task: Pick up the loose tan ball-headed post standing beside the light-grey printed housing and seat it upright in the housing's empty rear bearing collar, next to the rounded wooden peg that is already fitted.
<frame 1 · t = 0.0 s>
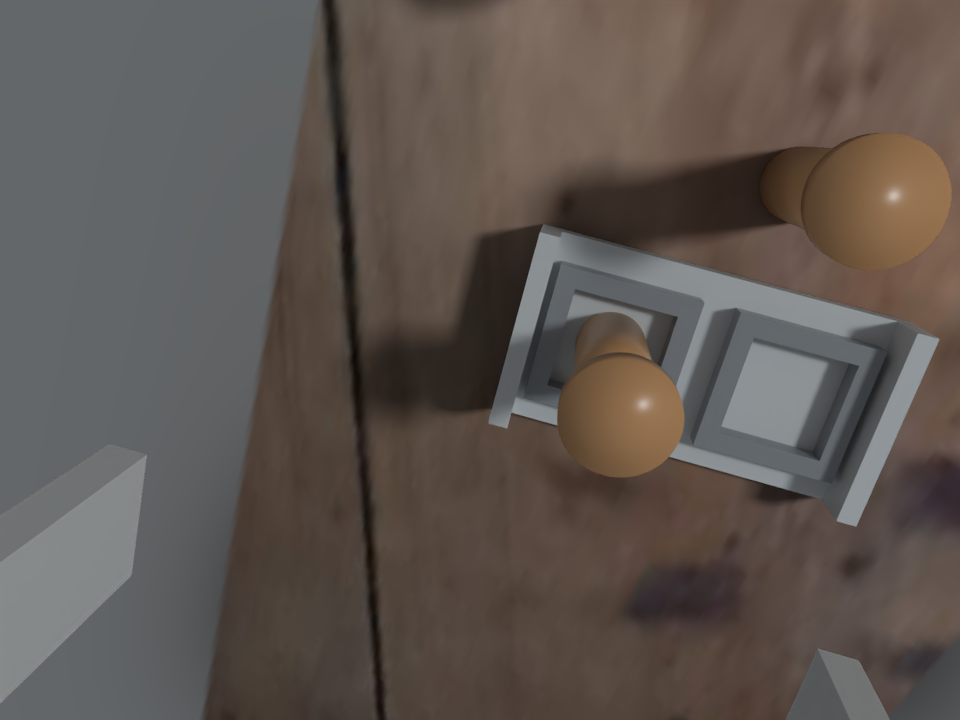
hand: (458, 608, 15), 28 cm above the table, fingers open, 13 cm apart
tan ball-headed post: (797, 184, 38), on the table
housing: (692, 362, 41), on the table
rounded wooden peg: (610, 345, 41), point 1 cm above the table, touching housing
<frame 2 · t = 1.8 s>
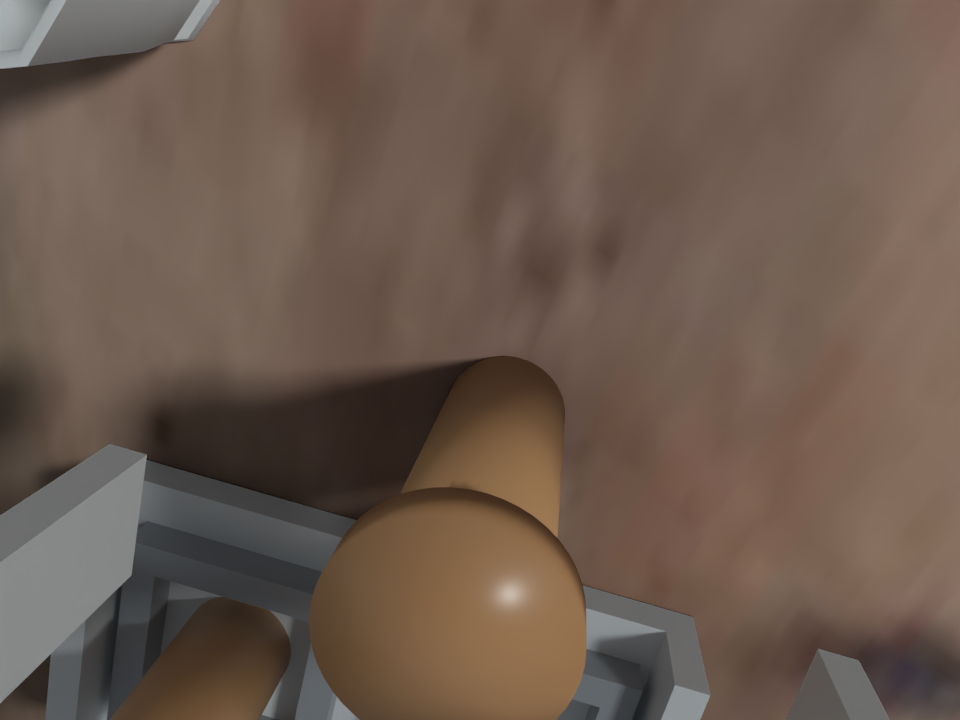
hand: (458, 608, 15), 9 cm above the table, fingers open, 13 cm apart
tan ball-headed post: (505, 412, 24), on the table
housing: (377, 658, 27), on the table
rounded wooden peg: (238, 643, 26), point 1 cm above the table, touching housing
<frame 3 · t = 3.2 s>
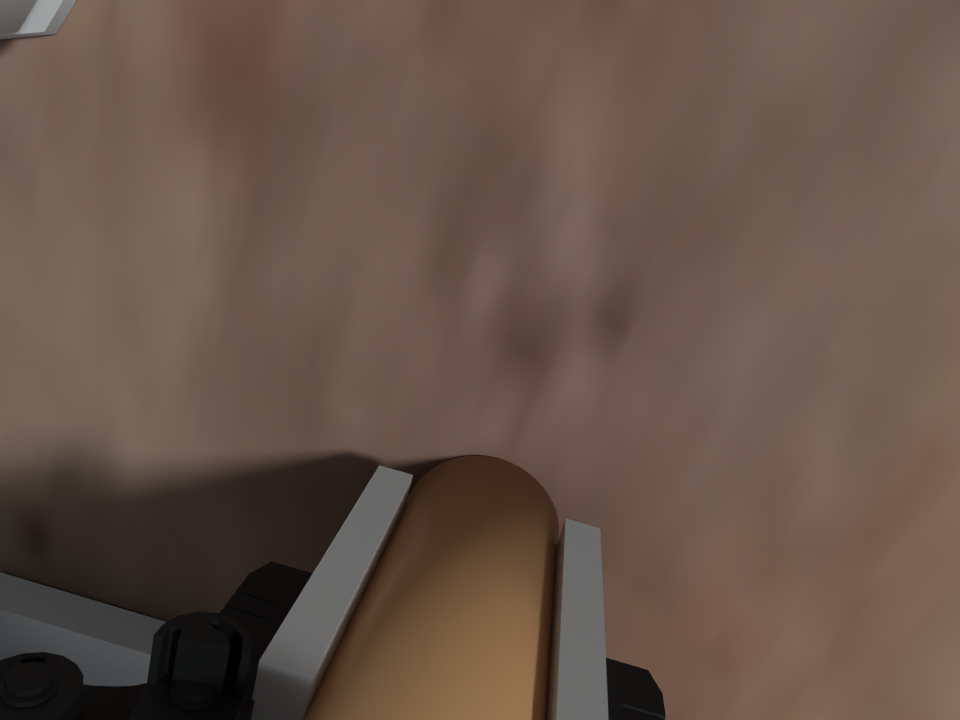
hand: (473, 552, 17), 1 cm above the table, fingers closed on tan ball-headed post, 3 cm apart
tan ball-headed post: (480, 528, 18), on the table, touching gripper
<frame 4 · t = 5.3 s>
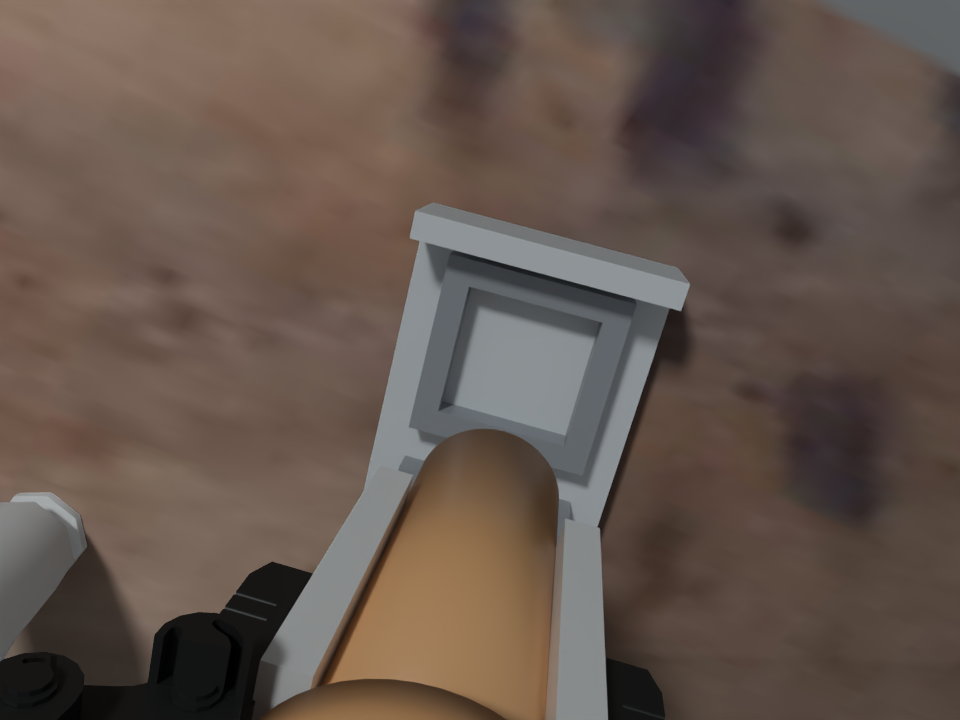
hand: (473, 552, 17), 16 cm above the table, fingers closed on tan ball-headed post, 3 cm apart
cup: (43, 554, 39), on the table
tan ball-headed post: (486, 496, 20), point 14 cm above the table, touching gripper
housing: (495, 448, 34), on the table
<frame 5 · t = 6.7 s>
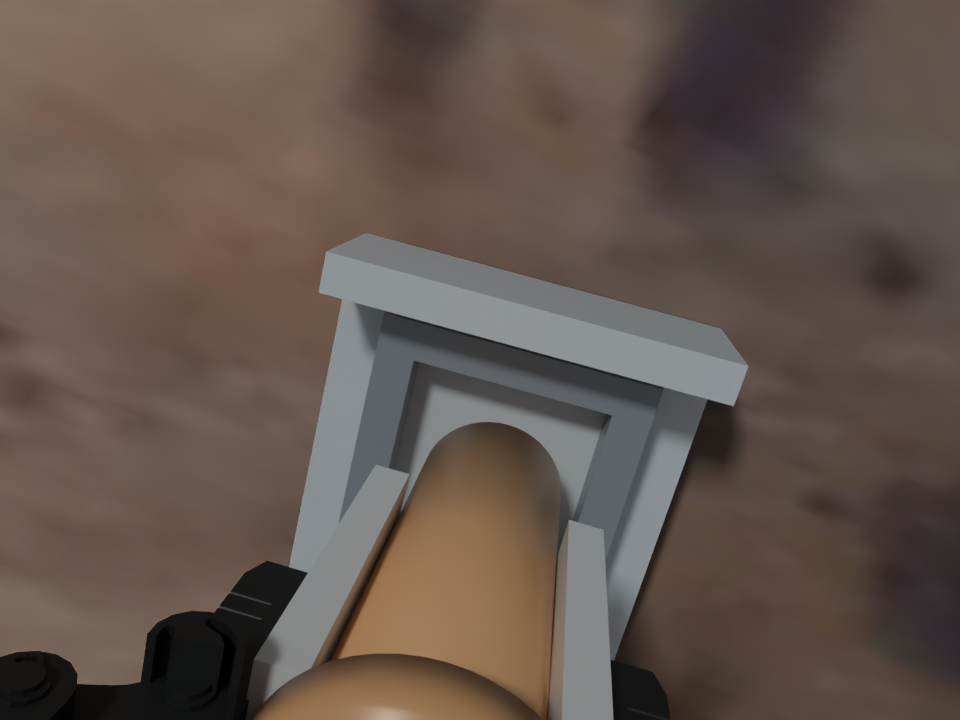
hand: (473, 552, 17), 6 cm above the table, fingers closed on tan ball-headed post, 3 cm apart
tan ball-headed post: (490, 487, 20), point 3 cm above the table, touching gripper
housing: (460, 574, 24), on the table
when the fingers open (4 cm above the table, at t = 7.4 s): tan ball-headed post stays where it is, resting on housing.
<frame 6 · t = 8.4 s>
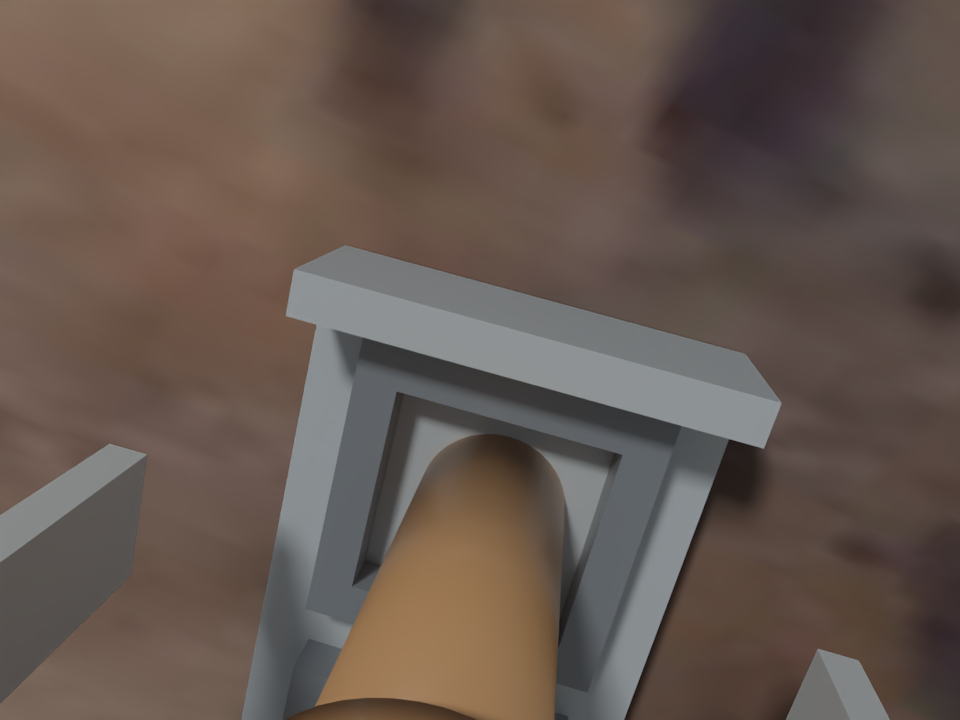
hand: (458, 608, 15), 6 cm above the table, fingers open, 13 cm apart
tan ball-headed post: (491, 502, 19), point 1 cm above the table, touching housing
housing: (452, 622, 22), on the table
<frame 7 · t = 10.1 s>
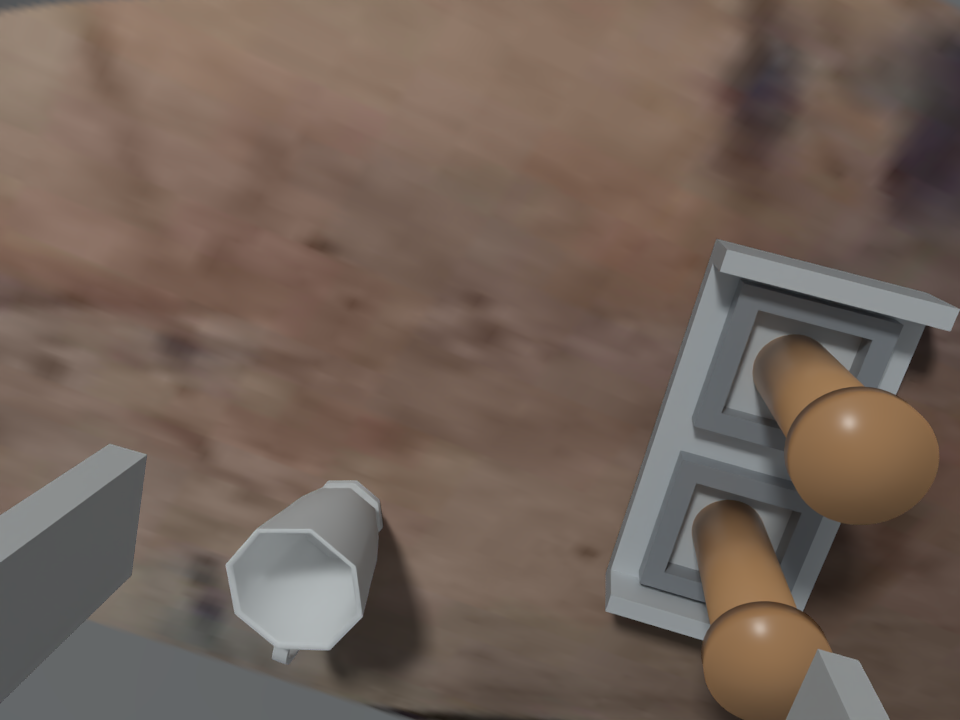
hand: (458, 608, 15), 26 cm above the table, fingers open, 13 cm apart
cup: (341, 533, 45), on the table
tan ball-headed post: (791, 370, 37), point 1 cm above the table, touching housing
housing: (753, 444, 40), on the table
rounded wooden peg: (727, 531, 40), point 1 cm above the table, touching housing
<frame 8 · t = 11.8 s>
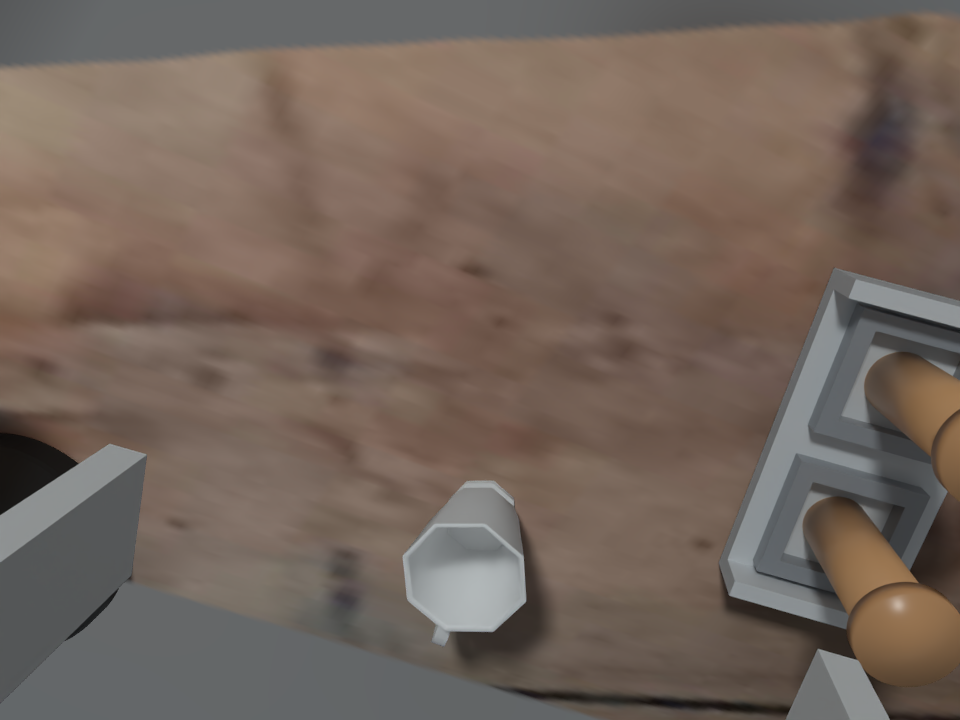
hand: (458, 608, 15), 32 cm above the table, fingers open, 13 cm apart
cup: (475, 528, 50), on the table
tan ball-headed post: (898, 383, 43), point 1 cm above the table, touching housing
housing: (857, 447, 45), on the table
rounded wooden peg: (834, 524, 46), point 1 cm above the table, touching housing
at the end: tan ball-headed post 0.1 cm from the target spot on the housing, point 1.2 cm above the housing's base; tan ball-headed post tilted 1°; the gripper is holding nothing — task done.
